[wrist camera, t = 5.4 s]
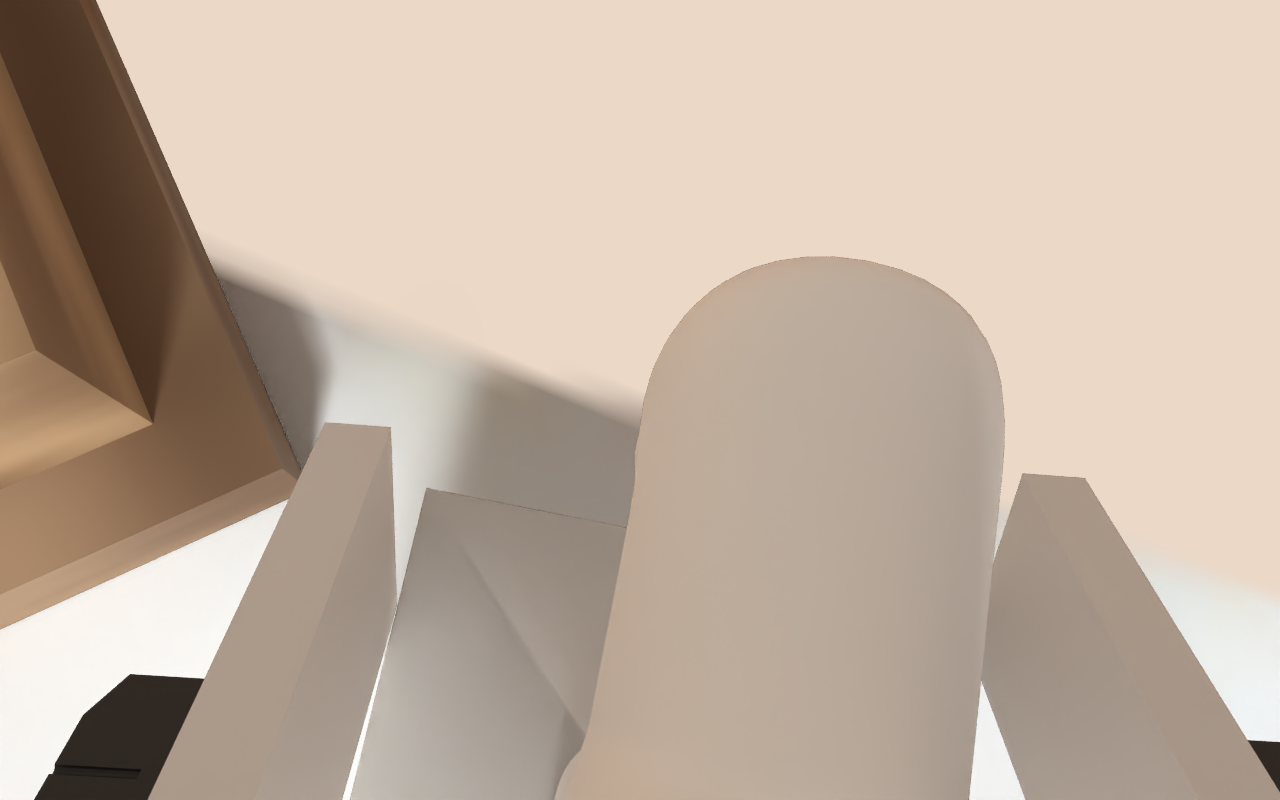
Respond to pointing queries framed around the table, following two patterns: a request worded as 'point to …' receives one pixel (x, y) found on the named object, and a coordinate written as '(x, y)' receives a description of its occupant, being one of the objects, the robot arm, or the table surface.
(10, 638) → the table surface
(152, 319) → the walnut plinth
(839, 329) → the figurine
